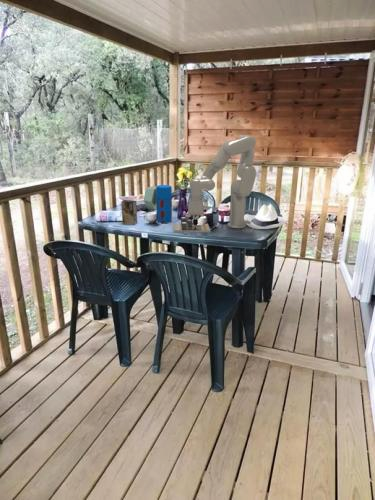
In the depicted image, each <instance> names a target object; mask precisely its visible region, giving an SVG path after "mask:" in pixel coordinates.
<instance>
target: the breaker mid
mask: <svg viewBox="0 0 375 500" xmlns="http://www.w3.org/2000/svg"><path fill="white" fill-rule="evenodd" d="M187 223H188V225H187V226H188V227H192V223H193V219H187Z"/></svg>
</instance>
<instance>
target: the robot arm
mask: <svg viewBox="0 0 375 500" xmlns="http://www.w3.org/2000/svg"><path fill="white" fill-rule="evenodd" d="M256 143H257V141H256V138H255V137H254V136H252V135H247V134H240V135H238V136H237V139H236V140H233V141H231V140H225V141H224V142H223V143H222V144H221V145H220V147H219V149H218V151H217V152H216V155H215V157H214V158H213V160H212V161H211V162H210V163H209V165H208V166H207V167H206V169H204V171H203V173H202V174H201V176H200V178H196V177H195V178H192V179H191V180H190V191H189V192H190V194H189V195H190V198H189V199H188V205H187V217H189V218H191V220H192V223H193V224H194V226H195V225H196V226H197V224H198V223H199V219H200V218H203V217H204V216H205V215H204V214H205V212H204V211H205V209H204V199H205V195H203V191H207V192H208V191H209V192H210V191H213V190H214V189H215V187H216V182H215V181H214V179H213V178H214V177H215V175H216V174H217V173H218V172H220V171H221V170H223V169H224V168H225V167H226V165H227V163H228V162H229V160H230V158H231V156H232V157H233V156H237V155H240V157H239V158H240V159H239V163H238V166H237V170H236V175H237V176H238V178H240V179H235V180H233V181H232V182H231V185H230V212H229V213H230V214H229V222H228V223H227V227H229V228H233V229H243V228H246V226H247V224H249V225H250V224H251V223H252V222H251V220H245V209H246V198H247V197H249V196H250V195H251V193H252V192H253V191H252V190H253V189H254V185H255V182H256V178H257V170H256V168H255V166H254V165H253V163H254V159H255V149H254V148H255V147H256V145H257V144H256Z"/></svg>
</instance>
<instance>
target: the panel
mask: <svg viewBox="0 0 375 500" xmlns="http://www.w3.org/2000/svg"><path fill="white" fill-rule="evenodd" d="M186 223H187V225H188V222H186ZM206 223H207V222H206ZM172 229H173V233H177V234H178V233H179V234H181V233H183V234H184V233H187V234H188V233H196V234H197V233H211V228H210V225H209V224H208V223H207V224H205V225H197V226H196V225H195V226H194V224H193V222H192V227H188V226H187V229H182V224H181V222H179V223H175V222H174V223H172Z"/></svg>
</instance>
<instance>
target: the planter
mask: <svg viewBox="0 0 375 500" xmlns="http://www.w3.org/2000/svg"><path fill="white" fill-rule="evenodd" d="M156 186H157V185H156ZM156 186H155V185H153V186H147V187H146V188H145V191H144V197H143V202H144V205H145V207H146V208H147V210H151V211H157V205H156Z"/></svg>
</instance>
